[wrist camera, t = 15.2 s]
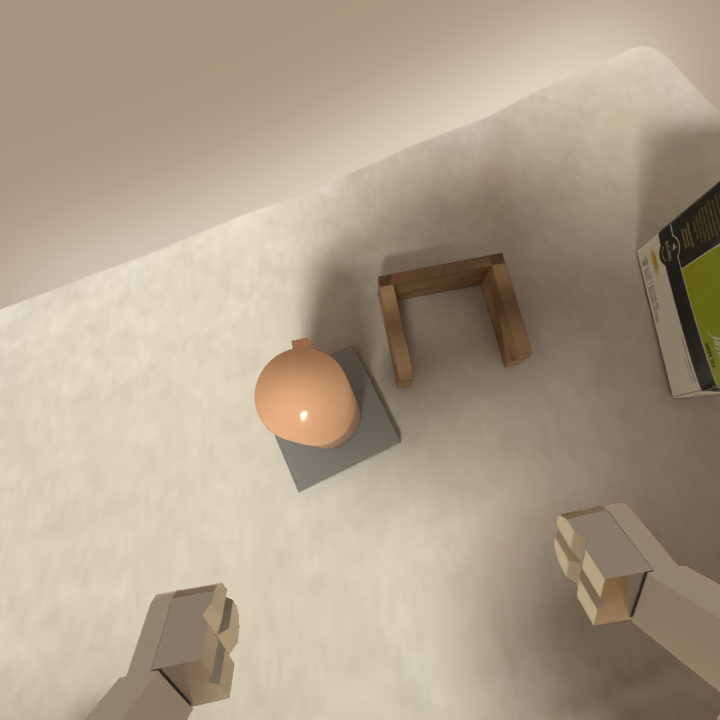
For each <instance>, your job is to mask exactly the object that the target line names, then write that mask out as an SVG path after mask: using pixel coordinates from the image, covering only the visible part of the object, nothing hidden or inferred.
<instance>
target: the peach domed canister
mask: <svg viewBox="0 0 720 720" xmlns="http://www.w3.org/2000/svg"><path fill="white" fill-rule="evenodd" d="M292 346H293V349H291V350H288V351H285V352H283V353H281V354H279V355H277V356H276V357H275V358H273V359H272V360H271V361H270V362H269V363H268V364H267V365H266V366H265V368H264V369H263V371H262V372H261V374H260V376H259V378H258V381H257V384H256V388H255V405H256V410H257V413H258V415H259V417H260V419H261V421H262V422H263V424H264V425H265V426H266V427H267V428H268V429H269V430H270V431H271V432H272V433H273V434H275V435H277V436H278V437H281V438H283V439H286V440H289V441H293V442H297V443H301V444H305V445H309V446H312V447H316V448H320V449H334V448H338V447H340V446H342V445H344V444H346V443H347V442H348V441H350V439H351V438H352V437H353V436H354V435H355V433H356V432H357V430H358V427H359V424H360V418H361V412H360V407H359V404H358V401H357V399H356V397H355V395H354V393H353V390H352V388H351V386H350V384H349V382H348V380H347V377H346V375H345V373H344V371H343V370H342V368H341V366H340V365H339V364H338V363H337V361H335V360H334V359H333V358H332V357H331V356H329V355H328V354H326V353H324V352H322V351H320V350H317V349H314V347H313V345H312V344H311V342H310V341H309V339H308V338H303V339H299V340H294V341H292Z"/></svg>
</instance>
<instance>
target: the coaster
mask: <svg viewBox="0 0 720 720" xmlns="http://www.w3.org/2000/svg"><path fill="white" fill-rule="evenodd" d="M331 357H332V358H333V359H334V360H335V361H337V363H338V364H339V365H340V366H341V368H342V370H343V371H344V373H345V375H346V377H347V380H348V382H349V384H350V386H351V388H352V390H353V393H354V395H355V397H356V399H357V401H358V404H359V407H360V412H361V418H360V424H359V427H358V430H357V432H356V433H355V435H354V436H353V437H352V438H351V439H350V441H348V442H347V443H346V444H344V445H342V446H340V447H338V448H334V449H320V448H316V447H312V446H309V445H305V444H301V443H297V442H293V441H289V440H286V439H283V438H281V437H278V436H277V435H275V437H276V439H277V442H278V444H279V446H280V449H281V451H282V454H283V456H284V458H285V461H286V463H287V466H288V468H289V470H290V473H291V475H292V478H293V480H294V482H295V485H296V487H297V490H298V492H301V491H303V490H305V489H307V488H309V487H311V486H313V485H315V484H317V483H319V482H321V481H323V480H325V479H327V478H329V477H331V476H333V475H335V474H337V473H339V472H341V471H343V470H346V469H348V468H350V467H352V466H354V465H356V464H358V463H360V462H362V461H364V460H366V459H368V458H370V457H372V456H374V455H376V454H378V453H380V452H382V451H384V450H386V449H388V448H390V447H392V446H394V445H396V444H398V443H400V442H401V441H400V439H399V437H398V435H397V433H396V431H395V429H394V427H393V425H392V423H391V421H390V419H389V417H388V415H387V413H386V411H385V409H384V407H383V405H382V403H381V401H380V399H379V397H378V395H377V393H376V391H375V389H374V387H373V385H372V383H371V381H370V379H369V377H368V375H367V373H366V371H365V369H364V367H363V365H362V363H361V361H360V359H359V357H358V355H357V353H356V351H355V349H354V346H350V347H348V348H346V349H344V350H342V351H340V352H338V353H336V354H334V355H331Z"/></svg>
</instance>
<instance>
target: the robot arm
mask: <svg viewBox="0 0 720 720" xmlns="http://www.w3.org/2000/svg"><path fill="white" fill-rule="evenodd" d="M556 525H557V527H558V528H559V530H560V532H559V533H558V534H557V535H556V536H555V540H554V547H555V552H556V556H557V559H558V561H559V564H560V566H561V568H562V570H563V572H564V574H565V575H566V577H567V578H569V579H570V580H572V581H573V582H574V583H576V584H577V585H578V590H577V597H578V599H579V601H580V602H581V604H582V606H583V608H584V609H585V611H586V613H587V615H588V617H589V618H590V620H591V622H592V624H593V625H600V624H606V623H612V622H618V621H624V620H630V619H632V621H631V622H633V623H634V624H635V625H636V626H638V627H639V628H640V629H641V630H643V631H644V632H645V633H646V634H648V635H649V636H650V637H651V638H653V639H654V640H655V641H656V642H658V643H659V644H660V645H661V646H662V647H664V648H665V649H666V650H667V651H669V652H670V653H671V654H672V655H674V656H675V657H676V658H677V659H679V660H680V661H681V662H682V663H684V664H685V665H686V666H687V667H689V668H690V669H691V670H692V671H694V672H695V673H696V674H697V675H698V676H700V677H701V678H702V679H703V680H705V681H706V682H707V683H708V684H710V685H711V686H712V687H713V688H715V689H716V690H717V691H718V692H720V584H718V583H716V582H714V581H712V580H711V579H709V578H707V577H705V576H704V575H702V574H700V573H698V572H696V571H695V570H693V569H691V568H689V567H688V566H686V565H684V566H678V565H677V564H676V563H675V561H674V560H673V559H672V558H671V557H670V555H669V554H668V553H667V552H666V551H665V549H664V548H663V547H662V546H661V544H660V543H659V542H658V541H657V540H656V538H655V537H654V536H653V535H652V534H651V532H650V531H649V530H648V529H647V528H646V526H645V525H644V524H643V523H642V522H641V520H640V519H639V518H638V517H637V516H636V514H635V513H634V512H633V511H632V510H631V508H630V507H629V506H628V505H626V504H624V503H616V504H611V505H606V506H601V507H594V508H589V509H585V510H580V511H576V512H571V513H566V514H562V515H559V516H558V517H557V523H556ZM226 593H227V589H226V588H225V586H224V585H223V583H222V582H221V583H216V584H211V585H206V586H200V587H195V588H190V589H185V590H177V591H173V592H168V593H163V594H158V595H156V596H155V598H154V599H153V601H152V602H151V604H150V607H149V610H148V613H147V616H146V619H145V622H144V625H143V628H142V631H141V634H140V637H139V640H138V643H137V646H136V649H135V652H134V655H133V658H132V661H131V664H130V667H129V670H128V673H127V676H124V677H120V678H119V679H118V680H117V682H116V683H115V684H114V685H113V687H112V688H111V689H110V690H109V691H108V693H107V694H106V695H105V696H104V698H103V699H102V700H101V701H100V703H99V704H98V705H97V706H96V707H95V709H94V710H93V711H92V712H91V714H90V715H89V716H88V717H87V718H86V720H187V718H188V717H189V715H190V713H191V711H192V710H193V709H192V707H193V706H197V705H202V704H206V703H210V702H215V701H219V700H223V699H228V698H230V691H231V684H232V677H233V671H234V662H233V660H232V658H231V656H230V655H229V654H230V653H231V651H232V650H233V648H234V647H235V645H236V644H237V642H238V634H239V614H238V610H237V606H236V604H235V603H234V601H233V600H231V599H229V598H227V597H226ZM717 720H720V714H719V716H718V717H717Z"/></svg>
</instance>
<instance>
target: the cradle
mask: <svg viewBox="0 0 720 720" xmlns="http://www.w3.org/2000/svg"><path fill="white" fill-rule="evenodd" d="M479 284H482V288H483V292H484V295H485V299H486V302H487V306H488V309H489V313H490V316H491V320H492V324H493V327H494V331H495V334H496V338H497V341H498V345H499V348H500V352H501V355H502V359H503V363H504V366H505V367H508V366H513V365H518V364H519V363H520V362H522V361H523V360H525V359H526V358H527V357H529V356H530V355H532V351H531V347H530V344H529V341H528V337H527V334H526V331H525V327H524V324H523V321H522V317H521V314H520V311H519V308H518V304H517V301H516V298H515V294H514V291H513V288H512V284H511V281H510V278H509V274H508V271H507V268H506V264H505V261H504V258H503V254H502V253H499V254H494V255H489V256H484V257H479V258H473V259H468V260H463V261H458V262H453V263H448V264H442V265H437V266H432V267H427V268H422V269H417V270H411V271H406V272H401V273H396V274H391V275H386V276H381V277H378V296H379V300H380V305H381V310H382V314H383V319H384V324H385V329H386V333H387V338H388V343H389V347H390V352H391V357H392V361H393V366H394V371H395V376H396V380H397V385H398V388H399V387H405V386H410V385H411V383H412V380H413V378H414V375H413V371H412V366H411V362H410V357H409V353H408V348H407V344H406V339H405V335H404V330H403V326H402V321H401V317H400V312H399V308H398V303H397V300H402V299H407V298H412V297H417V296H423V295H428V294H433V293H438V292H443V291H448V290H454V289H459V288H464V287H469V286H474V285H479Z"/></svg>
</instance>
